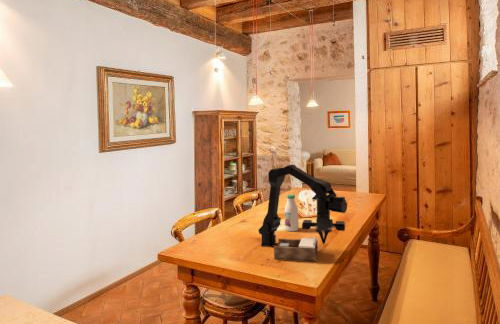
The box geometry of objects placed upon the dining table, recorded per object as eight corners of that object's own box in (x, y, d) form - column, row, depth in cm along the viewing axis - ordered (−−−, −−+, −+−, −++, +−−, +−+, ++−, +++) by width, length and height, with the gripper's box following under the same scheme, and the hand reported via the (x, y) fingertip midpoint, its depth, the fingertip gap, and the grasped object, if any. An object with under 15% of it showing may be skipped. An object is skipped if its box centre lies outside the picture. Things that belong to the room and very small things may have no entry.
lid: (298, 247, 165) (298, 243, 165) (301, 239, 176) (301, 235, 176) (314, 248, 163) (314, 244, 163) (316, 239, 175) (316, 235, 174)
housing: (274, 259, 169) (273, 247, 168) (279, 249, 180) (278, 238, 180) (315, 261, 164) (315, 249, 163) (317, 252, 175) (317, 240, 175)
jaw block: (279, 254, 172) (279, 245, 172) (281, 251, 176) (280, 242, 175) (287, 254, 171) (287, 246, 170) (289, 251, 175) (289, 243, 174)
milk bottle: (297, 227, 215) (296, 193, 213) (299, 231, 208) (298, 196, 205) (284, 227, 215) (283, 194, 213) (286, 232, 208) (284, 196, 205)
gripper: (300, 213, 161) (300, 248, 163) (344, 215, 156) (344, 251, 158) (303, 207, 172) (303, 240, 173) (344, 208, 167) (345, 242, 169)
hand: (323, 243), depth 168 cm, fingers closed
